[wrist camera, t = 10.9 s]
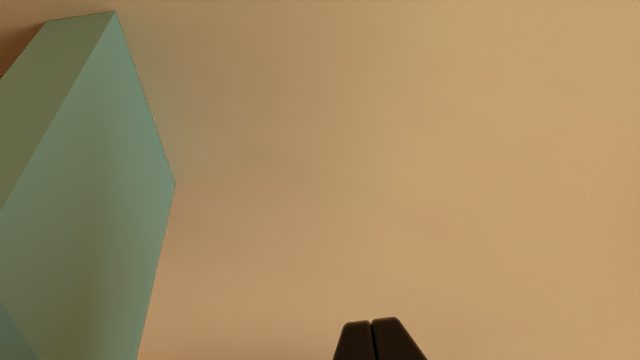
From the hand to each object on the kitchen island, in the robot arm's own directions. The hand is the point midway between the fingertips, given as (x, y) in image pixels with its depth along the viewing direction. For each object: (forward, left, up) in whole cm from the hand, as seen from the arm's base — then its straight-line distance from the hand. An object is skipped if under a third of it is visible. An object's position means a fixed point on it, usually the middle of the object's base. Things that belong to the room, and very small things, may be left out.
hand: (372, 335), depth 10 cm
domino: (+1, +6, -7) cm, 9 cm away
